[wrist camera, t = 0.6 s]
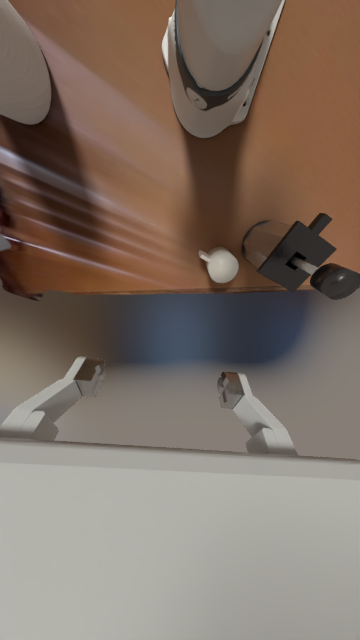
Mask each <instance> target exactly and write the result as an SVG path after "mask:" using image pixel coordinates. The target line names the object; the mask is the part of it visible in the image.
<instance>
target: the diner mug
mask: <svg viewBox="0 0 360 640" xmlns="http://www.w3.org/2000/svg"><path fill="white" fill-rule="evenodd" d="M199 256H200V258H202V259H204V260H205V264H206V267H207V269H208V272H209V274H210V277H211V278H212V280H214V281H215V282H217V283H226V282H229V281H230V280H232V279H233V278H234V277H235V276H236V274H237V272H238V268H239V265H238V261H237V260H236V258H235V257H234V256H233V255H232V254H231V253H230V252H229V251H228V250H227V249H226V248H224V247H215V248H213V249H211V250H210V251H209V252H208V254H207V253H205V252H203V251H202V250H200V251H199Z"/></svg>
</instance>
